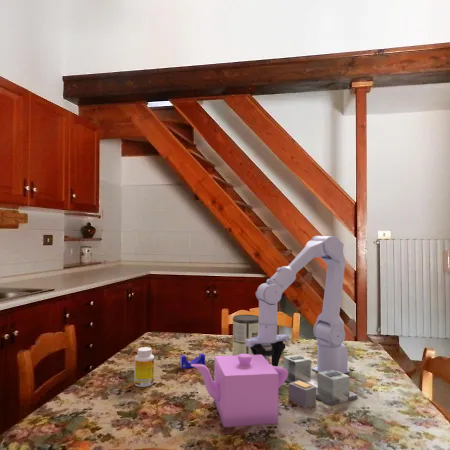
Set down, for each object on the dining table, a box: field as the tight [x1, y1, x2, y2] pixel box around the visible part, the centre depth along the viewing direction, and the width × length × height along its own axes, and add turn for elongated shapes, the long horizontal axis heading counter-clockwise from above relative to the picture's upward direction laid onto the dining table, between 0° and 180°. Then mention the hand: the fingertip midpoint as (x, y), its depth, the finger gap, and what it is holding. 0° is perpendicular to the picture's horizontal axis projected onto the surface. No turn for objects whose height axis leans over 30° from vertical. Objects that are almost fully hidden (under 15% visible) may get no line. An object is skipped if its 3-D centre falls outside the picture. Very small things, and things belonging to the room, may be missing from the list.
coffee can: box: [232, 314, 259, 356], centre depth 146 cm, size 10×10×14 cm
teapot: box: [191, 354, 288, 428], centre depth 101 cm, size 15×25×14 cm, turn 100°
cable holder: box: [179, 352, 206, 370], centre depth 134 cm, size 8×4×4 cm, turn 111°
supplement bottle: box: [133, 346, 155, 388], centre depth 118 cm, size 6×6×10 cm
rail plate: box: [277, 353, 359, 406], centre depth 118 cm, size 10×24×6 cm, turn 28°
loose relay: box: [288, 380, 317, 409], centre depth 107 cm, size 4×6×5 cm, turn 38°
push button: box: [261, 344, 275, 364], centre depth 123 cm, size 7×5×10 cm
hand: (267, 367), depth 124 cm, fingers closed on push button, 5 cm apart
